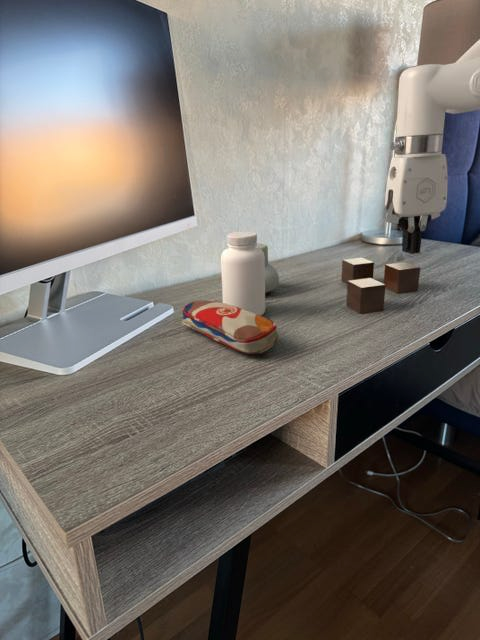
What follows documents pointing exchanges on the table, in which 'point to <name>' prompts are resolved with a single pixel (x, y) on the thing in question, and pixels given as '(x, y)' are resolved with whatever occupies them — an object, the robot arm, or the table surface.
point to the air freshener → (269, 271)
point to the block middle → (401, 277)
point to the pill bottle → (243, 273)
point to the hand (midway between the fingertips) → (410, 252)
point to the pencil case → (231, 326)
